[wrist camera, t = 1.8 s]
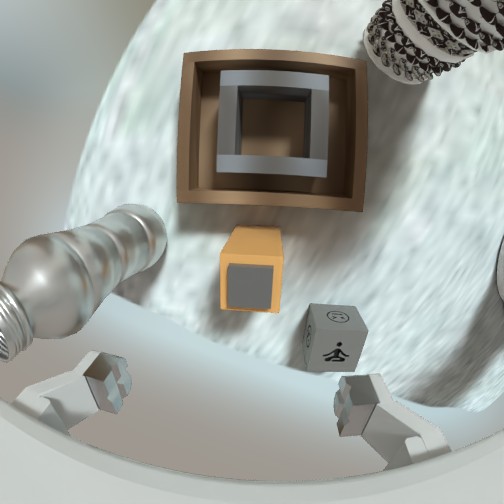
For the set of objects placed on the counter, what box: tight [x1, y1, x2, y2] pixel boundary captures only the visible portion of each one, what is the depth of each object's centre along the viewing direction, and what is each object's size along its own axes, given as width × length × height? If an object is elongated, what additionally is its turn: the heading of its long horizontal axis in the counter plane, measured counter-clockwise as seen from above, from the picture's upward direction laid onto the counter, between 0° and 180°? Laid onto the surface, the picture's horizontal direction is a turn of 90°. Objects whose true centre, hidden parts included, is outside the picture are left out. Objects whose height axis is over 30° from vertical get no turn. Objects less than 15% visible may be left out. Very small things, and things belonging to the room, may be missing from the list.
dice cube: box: [302, 303, 368, 372], centre depth 27 cm, size 5×5×5 cm
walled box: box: [177, 49, 368, 212], centre depth 21 cm, size 15×13×5 cm
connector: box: [220, 225, 284, 313], centre depth 22 cm, size 4×4×10 cm
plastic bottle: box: [0, 204, 167, 363], centre depth 18 cm, size 6×7×20 cm
